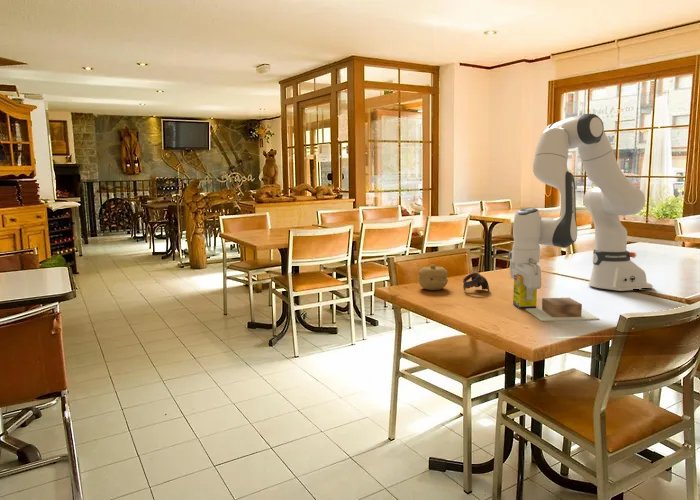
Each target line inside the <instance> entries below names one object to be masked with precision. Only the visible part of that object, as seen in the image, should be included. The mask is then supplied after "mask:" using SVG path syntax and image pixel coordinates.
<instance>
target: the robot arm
mask: <svg viewBox="0 0 700 500" xmlns="http://www.w3.org/2000/svg"><path fill="white" fill-rule="evenodd" d="M602 120H603V119H601V117H600V116H599V115H597V114H595V113H583V114H581V115H580V114H579V115H574V116H570V117H567V118H565V119H561V120H558V121H553V122H552V123H551V124H550V123H549V124H548V125H547V126H546V127H545V129H543V132H542V133H541V134H540V137H539V140H538V142H537V145H536V148H535V153H534V158H533V163H532V171H533V175H534V176H535V178H537V180H539V181H540V182H541V183H543V184H544V185H547V186H549V187H552V188H554V189H556V190H558V191H559V194H560V215H559V216H558V217H551V216H550V217H547V216H542V215H540V210H539V209H538V208H533V207H525V208H520V209H518V210H516V211H515V214H514V219H513V223H512V237H513V245H512V249H511V251H509V253H508V259H510V260H509V271H510V277H511V279H513V280H514V274H518V275H520V276H522V277H523V285H525V286H526V289H527V293H526V296H525V298H526V299H532V294H533V291H534V289H537V290H540V289H541V287H542V270H541V267H540V265H539V264H538V263H540V261H541V259H540V258H541V246H542V245H543V246H553V247H558V248H563V249H566V248H568V247H570V246H571V245H573V244H574V243H575V242H576V241H577V238H578V224H577V213H576V211H577V207H576V206H577V205H576V182H575V181H576V180H575V177H574V175H573V173H572V172H570V171H569V170H568V158H569V151H570V149H576V148H577V149H578V153H579V157H580V160H581V163H582V165H583V169H584V171H585V174H586V177H587V178H588V180H589V181H590V182H591V183H592V184H594V185H595V186H594V187H591V188H589V189H587V190H586V191H585V193H584V195H583V201H582V202H583V205H584V207H585V208H586V209H587V211H588V212H589V215H591V219H592V222H593V225H594V249H593V254H592V264H593V266H592V270H591V271H592V272H591V275H590V278H589V282H588V286H591V287H593V288H598V289H604V290H611V291H619V292H620V291H621V292H622V291H623V292H624V291H625V292H626V291H634V290H633V289H639V290H642V289H641V288H652V287H653V288H654V285H653V284H652V283H650V282H647V280H648V279H647V274H646V271H645V270H644V269H643V268H641V267H640V266H638V265H637V263H635V262H634V261H632V260H631V258H633V259H634V258H636V257H637V255H636V252H635V251H634V252H633V251H628V250H627V248H628V246H627V243H628V230H627V228H626V227H625V226H624V225H623V224H622V222H621V219H620V216H632V215H636V214H638V213H640V212H641V211H642V210H643V209H644V206H645V205H646V204H645V203H646V197H645V193H644V192H643V190H641V189H640V188H638V187H636V186H635V185H634V184H633V183H631V181H630V180H629V179H628V178H627V177H626V175H625V174H624V173H623V170H622V169H621V167H620V166H619V164H618V160H617V158H616V156H615V153H614V150H613V147H612V144H611V142H610V139H609V138H608V136H607V134H606V132H605V131H604V130H605V128H604V126H605V125H604V122H603V121H602ZM540 245H541V246H540ZM653 288H652V289H653Z"/></svg>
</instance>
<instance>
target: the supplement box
mask: <svg viewBox="0 0 700 500" xmlns="http://www.w3.org/2000/svg"><path fill="white" fill-rule="evenodd" d="M537 290H538V289H534V291H533V294H532V299H526V298H525V296H526V293H527V289H526V286H525V285H523V277H522V276H520V275H518V274H514V279H513V293H512V294H513V297H512V301H513V302H512V305H513V306H515V307H517V308H518V309H519V310H526V309H527V308H537V296H538V295H537V293H538V291H537Z"/></svg>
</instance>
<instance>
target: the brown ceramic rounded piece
mask: <svg viewBox="0 0 700 500" xmlns="http://www.w3.org/2000/svg"><path fill="white" fill-rule="evenodd" d="M470 279H471V280H470ZM462 283H463V286H462V289H463V291H464V292H466V289H470V288H473V287H475V288H480V287H481V290H483V291H484V290H487V292H488V293H489V292H491V291H490V286H489V282H488V280H487V278H486V277H485V276H483V275H481V274H480V272H477V271H476V272H471V273H470V274H468V275H466V276H465V277H464V278H463V280H462Z"/></svg>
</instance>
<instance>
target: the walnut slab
mask: <svg viewBox="0 0 700 500" xmlns="http://www.w3.org/2000/svg"><path fill="white" fill-rule="evenodd" d="M582 307H583V305H582V303H580V302H578V301H577V300H575V299H573V298H571V297H545V298H542V300H541V308H542V310H543V311H544V312H546V313H547V314H549V315H550V316H552V317H581V313H582V309H583V308H582Z"/></svg>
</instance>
